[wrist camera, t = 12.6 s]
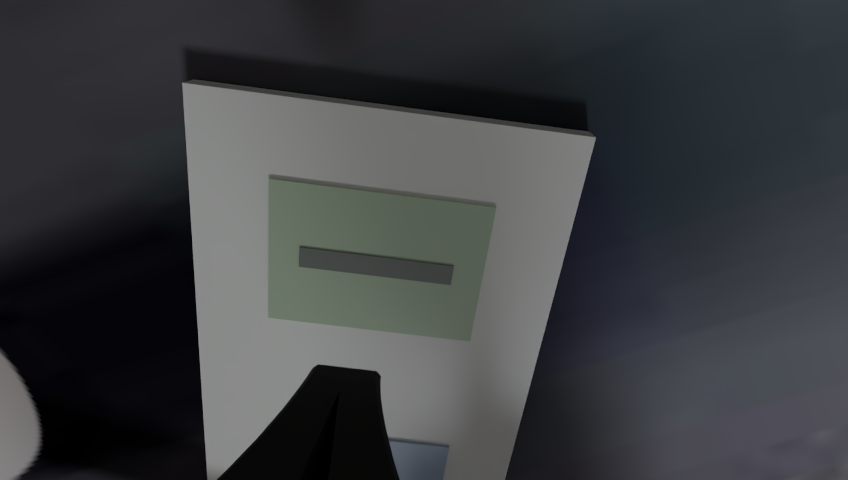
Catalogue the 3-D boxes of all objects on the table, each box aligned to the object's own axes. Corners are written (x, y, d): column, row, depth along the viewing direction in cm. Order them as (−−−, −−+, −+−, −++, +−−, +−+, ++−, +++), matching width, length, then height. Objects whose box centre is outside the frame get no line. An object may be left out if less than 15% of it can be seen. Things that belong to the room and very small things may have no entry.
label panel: (588, 131, 16) (597, 138, 15) (466, 604, 25) (467, 625, 24) (194, 79, 15) (179, 83, 14) (221, 579, 25) (213, 601, 24)
